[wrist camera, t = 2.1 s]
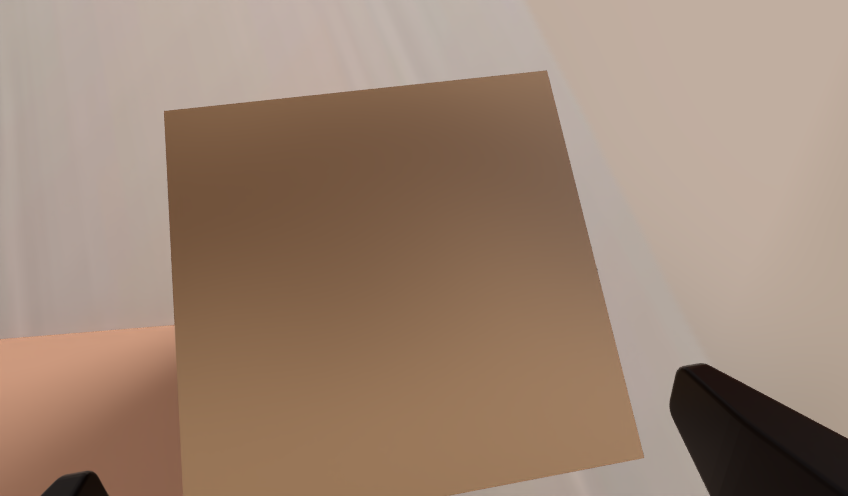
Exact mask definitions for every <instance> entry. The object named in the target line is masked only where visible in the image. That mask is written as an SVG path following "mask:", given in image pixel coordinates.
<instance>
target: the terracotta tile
mask: <svg viewBox="0 0 848 496" xmlns="http://www.w3.org/2000/svg"><path fill="white" fill-rule="evenodd" d="M87 470H88V471H93V472H95V473H96V474H97V475H98V477H99V479H100V481H101V482H102V484H103V486H104V488H105V490H106V491H107V493H108V495H109V496H183V483H182V463H181V443H180V423H179V402H178V382H177V362H176V342H175V325H170V326H158V327H145V328H133V329H121V330H109V331H96V332H84V333H72V334H59V335H47V336H35V337H23V338H10V339H0V496H40V495H41V494H42V493H43V492H44V491H45V490H46V489H47V488H48V487H49V486H50V485H51V484H52V483H53V482H54V481H55V480H57V479H58V478H59V477H61V476H63V475H65V474H70V473H76V472H82V471H87Z"/></svg>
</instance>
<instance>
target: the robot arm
mask: <svg viewBox="0 0 848 496" xmlns="http://www.w3.org/2000/svg"><path fill="white" fill-rule="evenodd" d="M670 412H671V416H672V418H673V420H674V422H675V424H676V426H677V428H678V431H679V433H680V435H681V437H682V439H683V441H684V443H685V445H686V447H687V449H688V451H689V453H690V455H691V457H692V459H693V461H694V463H695V466H696V468H697V470H698V472H699V474H700V476H701V478H702V480H703V482H704V484H705V486H706V488H707V490H708V492H709V494H710V496H848V438H846V437H844V436H842V435H840V434H838V433H836V432H834V431H832V430H831V429H829V428H827V427H825V426H823V425H821V424H819V423H817V422H815V421H814V420H811V419H810V418H808V417H806V416H804V415H802V414H800V413H798V412H797V411H795V410H793V409H791V408H789V407H787V406H785V405H783V404H781V403H780V402H778V401H776V400H774V399H772V398H770V397H768V396H766V395H764V394H763V393H761V392H759V391H757V390H755V389H753V388H751V387H749V386H747V385H746V384H744V383H742V382H740V381H738V380H736V379H734V378H732V377H730V376H729V375H727V374H725V373H723V372H721V371H719V370H717V369H715V368H713V367H712V366H710V365H707V364H704V363H698V364H692V365H687V366H682V367H680V368H679V369H678V370H677V372H676V375H675V380H674V384H673V389H672V393H671V397H670ZM40 496H109V495H108V493H107V491H106V490H105V488H104V486H103V484H102V482H101V481H100V479H99V477H98V475H97V474H96V473H95V472H93V471H88V470H87V471H82V472H76V473H70V474H65V475H63V476H61V477H59V478H58V479H57V480H55V481H54V482H53V483H52V484H51V485H50V486H49V487H48V488H47V489H46V490H45V491H44V492H43V493H42V494H41V495H40Z"/></svg>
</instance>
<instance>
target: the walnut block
mask: <svg viewBox="0 0 848 496" xmlns="http://www.w3.org/2000/svg"><path fill="white" fill-rule="evenodd" d="M164 121H165V141H166V161H167V181H168V201H169V221H170V241H171V262H172V282H173V302H174V322H175V342H176V362H177V382H178V402H179V423H180V443H181V463H182V483H183V496H449V495H454V494H459V493H465V492H470V491H475V490H480V489H485V488H491V487H496V486H501V485H506V484H511V483H517V482H522V481H527V480H532V479H537V478H543V477H548V476H553V475H558V474H563V473H569V472H574V471H579V470H584V469H589V468H595V467H600V466H605V465H610V464H615V463H620V462H626V461H631V460H636V459H641V458H644V455H643V451H642V447H641V443H640V439H639V435H638V431H637V427H636V423H635V419H634V415H633V411H632V407H631V403H630V399H629V395H628V391H627V387H626V383H625V379H624V375H623V371H622V367H621V363H620V359H619V355H618V351H617V347H616V343H615V339H614V335H613V331H612V328H611V324H610V320H609V316H608V312H607V308H606V304H605V300H604V296H603V292H602V288H601V284H600V280H599V276H598V272H597V268H596V264H595V260H594V256H593V252H592V248H591V244H590V240H589V236H588V232H587V228H586V224H585V220H584V216H583V212H582V208H581V204H580V200H579V196H578V192H577V188H576V184H575V180H574V176H573V172H572V168H571V164H570V160H569V156H568V152H567V148H566V145H565V141H564V137H563V133H562V129H561V125H560V121H559V117H558V113H557V109H556V105H555V101H554V97H553V93H552V89H551V85H550V81H549V77H548V73H547V71H538V72H528V73H519V74H510V75H500V76H491V77H481V78H472V79H462V80H453V81H444V82H434V83H425V84H415V85H406V86H396V87H387V88H378V89H368V90H359V91H349V92H340V93H330V94H321V95H312V96H302V97H293V98H283V99H274V100H264V101H255V102H246V103H236V104H227V105H217V106H208V107H198V108H189V109H180V110H170V111H164Z"/></svg>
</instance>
